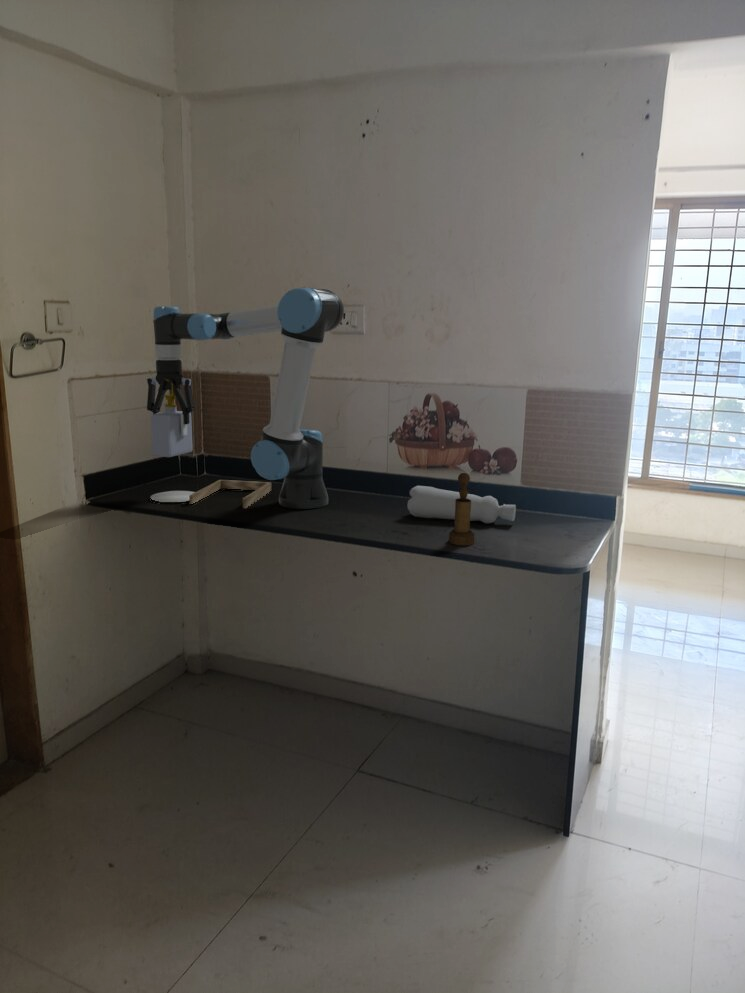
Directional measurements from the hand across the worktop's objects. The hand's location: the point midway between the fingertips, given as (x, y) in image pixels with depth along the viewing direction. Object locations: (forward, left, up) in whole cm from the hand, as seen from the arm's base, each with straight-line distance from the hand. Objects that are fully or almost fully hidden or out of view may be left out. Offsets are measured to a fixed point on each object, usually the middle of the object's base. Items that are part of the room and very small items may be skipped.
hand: (172, 434), depth 235 cm
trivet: (0, 0, -20) cm, 20 cm away
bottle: (-90, +6, -21) cm, 93 cm away
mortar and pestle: (-92, +28, -21) cm, 98 cm away
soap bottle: (0, 0, -6) cm, 6 cm away
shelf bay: (-17, -5, -20) cm, 27 cm away
